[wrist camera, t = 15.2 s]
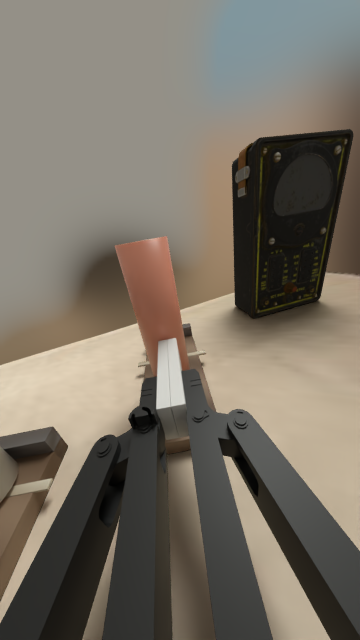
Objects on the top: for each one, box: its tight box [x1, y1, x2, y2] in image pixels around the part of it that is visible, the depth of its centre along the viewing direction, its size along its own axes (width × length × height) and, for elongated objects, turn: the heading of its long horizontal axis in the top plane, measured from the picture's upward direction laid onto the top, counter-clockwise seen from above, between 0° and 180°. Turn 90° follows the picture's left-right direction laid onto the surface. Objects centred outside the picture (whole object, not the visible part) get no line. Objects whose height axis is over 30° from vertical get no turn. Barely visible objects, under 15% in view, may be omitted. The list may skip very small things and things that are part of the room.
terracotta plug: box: [115, 236, 190, 377], centre depth 17 cm, size 4×4×14 cm
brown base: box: [138, 323, 216, 454], centre depth 21 cm, size 16×9×3 cm, turn 6°
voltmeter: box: [232, 129, 353, 318], centre depth 31 cm, size 16×9×25 cm, turn 105°
